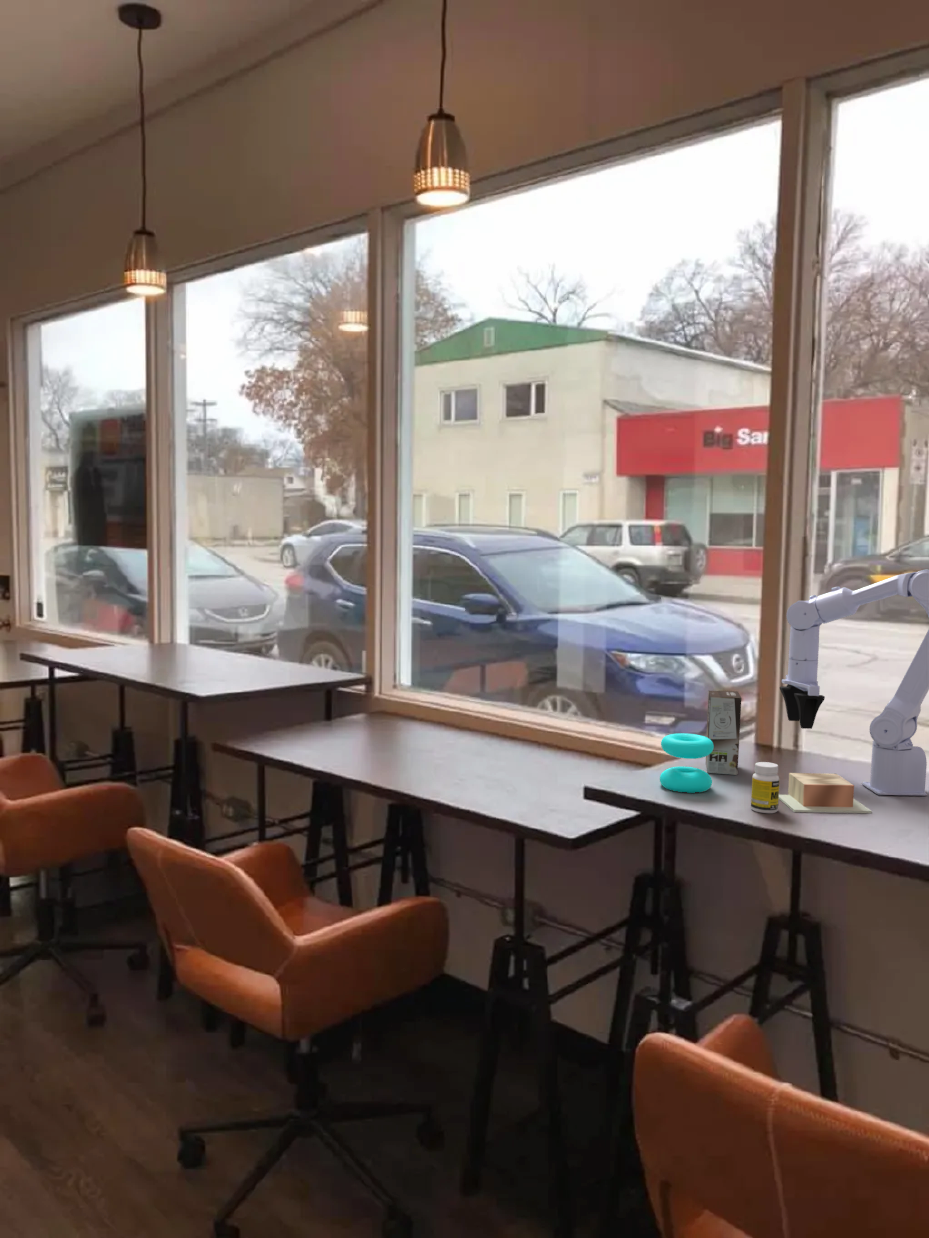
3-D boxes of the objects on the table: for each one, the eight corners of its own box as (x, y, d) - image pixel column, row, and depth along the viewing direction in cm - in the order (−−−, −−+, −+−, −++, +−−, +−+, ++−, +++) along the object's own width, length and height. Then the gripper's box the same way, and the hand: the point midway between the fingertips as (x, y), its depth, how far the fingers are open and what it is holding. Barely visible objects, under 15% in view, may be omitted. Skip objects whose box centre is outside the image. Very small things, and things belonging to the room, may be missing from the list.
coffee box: (738, 775, 203) (742, 697, 202) (706, 773, 205) (709, 696, 203) (735, 765, 212) (739, 690, 211) (704, 763, 214) (707, 689, 212)
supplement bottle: (773, 815, 176) (776, 769, 175) (747, 810, 178) (749, 765, 178) (780, 809, 180) (783, 763, 179) (754, 804, 183) (757, 759, 182)
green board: (849, 797, 188) (849, 795, 188) (871, 813, 178) (871, 810, 178) (776, 796, 188) (776, 794, 188) (794, 812, 178) (794, 809, 178)
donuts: (656, 731, 197) (706, 732, 198) (654, 780, 198) (704, 781, 198) (667, 742, 187) (719, 743, 188) (665, 794, 188) (717, 795, 189)
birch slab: (836, 773, 189) (854, 785, 180) (835, 794, 189) (852, 807, 181) (789, 772, 189) (804, 784, 180) (788, 793, 189) (803, 806, 180)
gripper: (772, 654, 210) (769, 717, 212) (795, 663, 196) (792, 731, 197) (805, 654, 210) (802, 717, 212) (831, 664, 196) (827, 732, 197)
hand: (799, 724), depth 205 cm, fingers open, 7 cm apart
